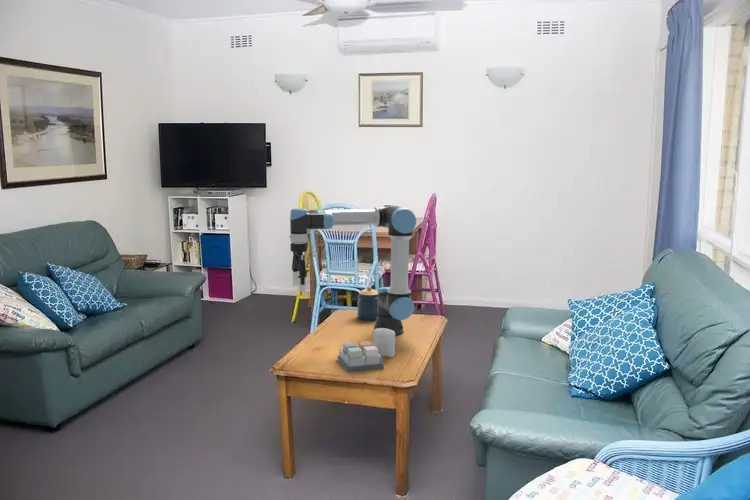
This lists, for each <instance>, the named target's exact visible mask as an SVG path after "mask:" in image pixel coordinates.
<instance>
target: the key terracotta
mask: <svg viewBox="0 0 750 500" xmlns="http://www.w3.org/2000/svg"><path fill="white" fill-rule="evenodd" d="M366 346H373V342H371V341H370V340H369V341H368V340H367V341H358V345H357V347H359V348H360V349H361V350H362V352H363V347H366Z"/></svg>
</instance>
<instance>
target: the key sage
mask: <svg viewBox="0 0 750 500" xmlns="http://www.w3.org/2000/svg"><path fill="white" fill-rule="evenodd" d="M348 357H349V358H350V359H355V358H362V350H361V349H360V348H359V347H358V346H357V347H355V348H348Z"/></svg>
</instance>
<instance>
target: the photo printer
mask: <svg viewBox="0 0 750 500" xmlns="http://www.w3.org/2000/svg"><path fill="white" fill-rule="evenodd" d="M372 334H373V335H372V344H373V346H375V347H376V348H377V349H378V353H379V354H380V355H381V356H382V357H389V358H393V357H395V356H396V355H395V352H396V335H395V332H394V331H393V330H390V329H387V328H377V329H375V330H374V329H373V333H372Z"/></svg>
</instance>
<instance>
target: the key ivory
mask: <svg viewBox="0 0 750 500" xmlns="http://www.w3.org/2000/svg"><path fill="white" fill-rule="evenodd" d="M363 355H365V356H366V357H376V356H378V349H377V348H376V347H375V346H366V347H363Z"/></svg>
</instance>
